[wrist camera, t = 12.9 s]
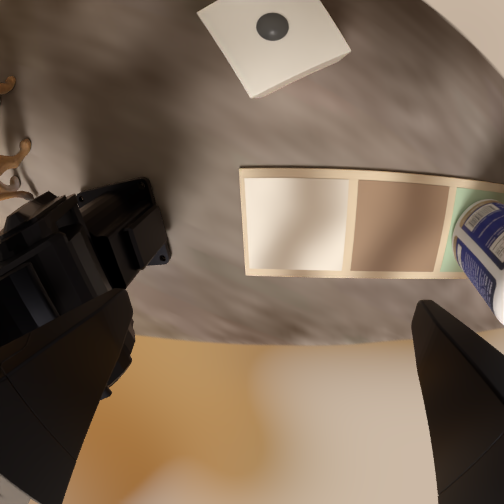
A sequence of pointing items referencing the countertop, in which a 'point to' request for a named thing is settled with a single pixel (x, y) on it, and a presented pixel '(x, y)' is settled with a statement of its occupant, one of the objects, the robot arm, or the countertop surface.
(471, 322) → the countertop surface
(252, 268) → the game board
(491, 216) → the pill bottle
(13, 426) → the robot arm
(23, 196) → the lion figurine
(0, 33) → the countertop surface
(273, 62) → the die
